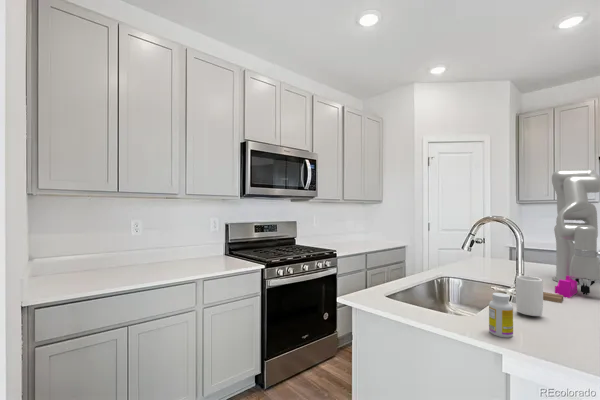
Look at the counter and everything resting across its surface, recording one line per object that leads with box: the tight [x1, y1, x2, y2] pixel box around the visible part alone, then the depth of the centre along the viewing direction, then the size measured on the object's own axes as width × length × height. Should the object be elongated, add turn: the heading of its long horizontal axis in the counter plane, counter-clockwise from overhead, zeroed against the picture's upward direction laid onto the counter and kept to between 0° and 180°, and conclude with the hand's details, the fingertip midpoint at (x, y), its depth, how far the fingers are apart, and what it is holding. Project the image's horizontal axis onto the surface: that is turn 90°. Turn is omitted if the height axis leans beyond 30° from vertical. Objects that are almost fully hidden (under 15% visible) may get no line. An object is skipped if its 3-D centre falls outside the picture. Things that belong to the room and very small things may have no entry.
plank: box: [543, 291, 564, 304], centre depth 144 cm, size 7×18×2 cm, turn 44°
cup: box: [515, 275, 544, 317], centre depth 120 cm, size 8×8×14 cm
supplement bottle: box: [488, 292, 514, 339], centre depth 104 cm, size 7×7×13 cm
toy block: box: [554, 275, 578, 299], centre depth 149 cm, size 15×6×8 cm, turn 129°
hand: (585, 294), depth 143 cm, fingers closed
